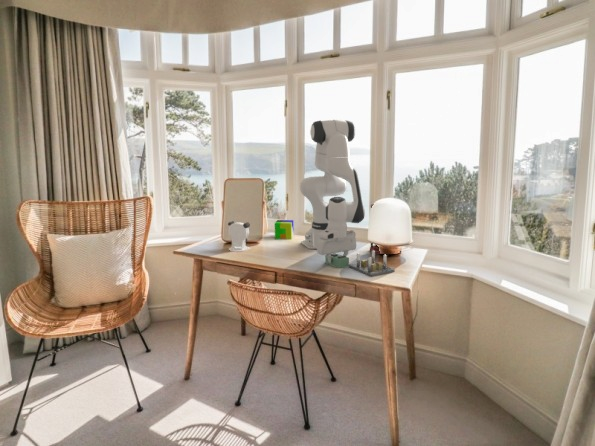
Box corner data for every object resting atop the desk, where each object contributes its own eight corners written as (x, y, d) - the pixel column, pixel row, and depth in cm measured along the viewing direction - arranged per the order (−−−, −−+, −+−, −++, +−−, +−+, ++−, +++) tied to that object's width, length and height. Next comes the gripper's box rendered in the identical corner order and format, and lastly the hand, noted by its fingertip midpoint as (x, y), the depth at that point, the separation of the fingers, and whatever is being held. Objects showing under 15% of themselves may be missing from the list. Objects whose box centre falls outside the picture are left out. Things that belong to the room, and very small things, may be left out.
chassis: (349, 266, 179) (349, 252, 178) (371, 262, 186) (371, 248, 184) (371, 276, 166) (371, 260, 164) (394, 271, 172) (395, 256, 170)
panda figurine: (254, 247, 217) (253, 221, 214) (244, 252, 207) (243, 224, 204) (235, 245, 222) (234, 219, 219) (224, 250, 211) (223, 223, 208)
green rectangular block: (325, 263, 186) (325, 254, 185) (335, 261, 189) (335, 252, 188) (339, 268, 178) (339, 258, 177) (348, 266, 181) (349, 256, 180)
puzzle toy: (293, 235, 245) (293, 220, 243) (291, 239, 235) (291, 223, 233) (278, 235, 246) (277, 220, 244) (275, 239, 237) (274, 223, 235)
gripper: (351, 228, 188) (350, 256, 191) (315, 233, 178) (315, 262, 181) (359, 231, 183) (358, 259, 185) (322, 236, 173) (322, 266, 176)
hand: (337, 261), depth 183 cm, fingers closed on green rectangular block, 6 cm apart
